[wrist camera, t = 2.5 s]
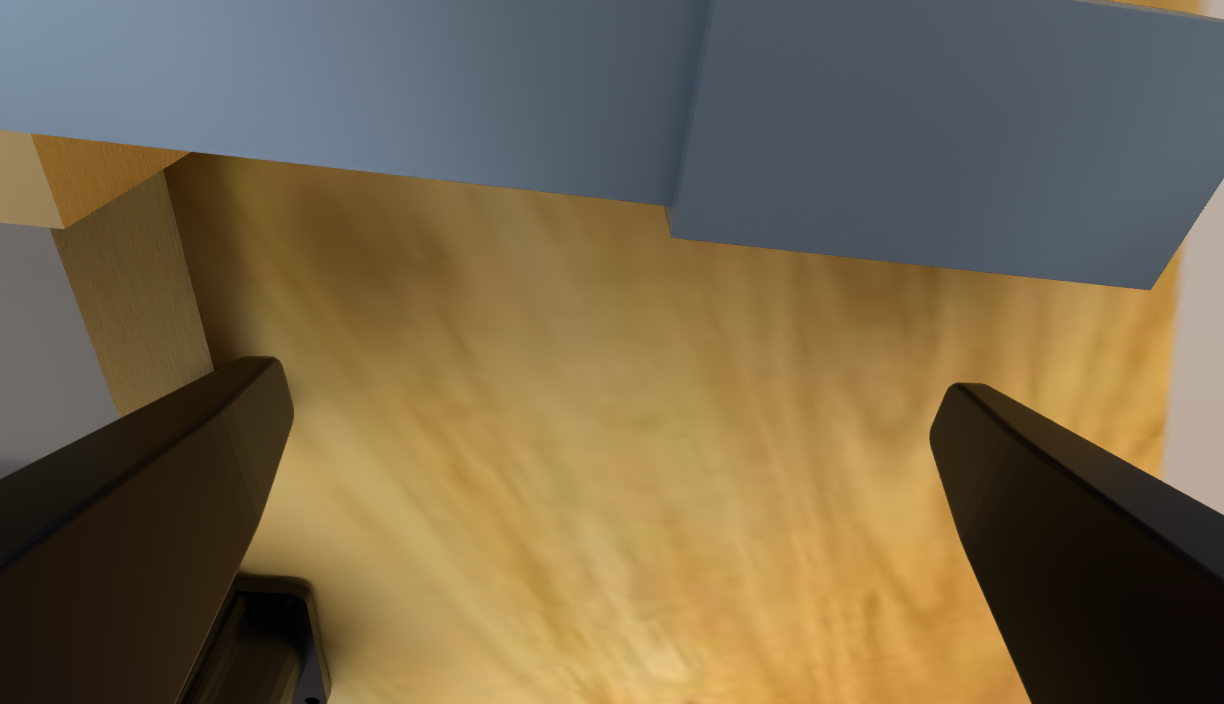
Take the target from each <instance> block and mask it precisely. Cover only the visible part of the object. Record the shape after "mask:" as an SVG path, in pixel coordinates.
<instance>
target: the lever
mask: <svg viewBox="0 0 1224 704" xmlns="http://www.w3.org/2000/svg"><path fill="white" fill-rule="evenodd" d="M0 130H6V131H15V132H24V133H32V134H41V135H50V136H59V137H67V138H76V139H85V140H94V141H103V142H111V143H120V144H129V145H138V146H146V147H155V148H164V149H173V150H182V151H190V152H199V153H208V154H217V155H225V156H234V157H243V158H252V159H261V160H269V161H278V162H287V163H296V164H304V165H313V166H322V167H331V168H340V169H348V170H357V171H366V172H375V173H383V174H392V175H401V176H410V177H419V178H427V179H436V180H445V181H454V182H462V183H471V184H480V185H489V186H498V187H506V188H515V189H524V190H533V191H541V192H550V193H559V194H568V195H577V196H585V197H594V198H603V199H612V200H620V201H629V202H638V203H647V204H656V205H664V207H665V212H666V216H667V221H668V225H669V230H670V234H671V238H678V239H688V240H697V241H706V242H715V243H724V244H733V245H742V246H751V247H760V248H770V249H779V250H788V251H797V252H806V253H815V254H824V255H833V256H842V257H851V258H861V259H870V260H879V261H888V262H897V263H906V264H915V265H924V266H933V267H943V268H952V269H961V270H970V271H979V272H988V273H997V274H1006V275H1015V276H1024V277H1034V278H1043V279H1052V280H1061V281H1070V282H1079V283H1088V284H1097V285H1106V286H1116V287H1125V288H1134V289H1143V290H1151V289H1152V287H1153V285H1154V284H1155V282H1156V281H1157V279H1158V278H1159V276H1160V275H1161V273H1162V272H1163V270H1164V269H1165V267H1166V266H1167V264H1168V262H1169V261H1170V259H1171V258H1172V256H1173V255H1174V253H1175V252H1176V250H1177V249H1178V247H1179V246H1180V244H1181V243H1182V241H1183V240H1184V238H1185V236H1186V235H1187V233H1188V232H1189V230H1190V229H1191V227H1192V226H1193V224H1194V223H1195V221H1196V219H1197V218H1198V217H1199V215H1200V213H1201V212H1202V210H1203V209H1204V207H1205V206H1206V204H1207V203H1208V201H1209V200H1210V198H1211V197H1212V195H1213V194H1214V192H1215V191H1216V189H1217V187H1218V186H1219V184H1220V183H1221V181H1222V180H1223V178H1224V20H1223V19H1217V18H1212V17H1207V16H1201V15H1196V14H1190V13H1185V12H1179V11H1173V10H1167V9H1160V8H1153V7H1146V6H1140V5H1133V4H1126V3H1120V2H1113V1H1106V0H0Z"/></svg>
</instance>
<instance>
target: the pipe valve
mask: <svg viewBox="0 0 1224 704" xmlns="http://www.w3.org/2000/svg"><path fill="white" fill-rule="evenodd" d="M189 153H190V151H182V150H173V149H164V148H155V147H146V146H138V145H129V144H120V143H111V142H103V141H94V140H85V139H76V138H67V137H59V136H50V135H41V134H32V133H24V132H15V131H6V130H0V479H1V478H3V477H5V476H7V475H8V474H10V473H12V472H14V471H16V470H18V469H20V468H22V467H24V466H26V465H28V464H30V463H32V462H34V461H36V460H38V459H40V458H42V457H44V456H46V455H48V454H50V453H52V452H54V451H56V450H58V449H60V448H62V447H64V446H66V445H68V444H70V443H72V442H74V441H76V440H78V439H80V438H82V437H84V436H86V435H88V434H90V433H92V432H94V431H96V430H98V429H100V428H102V427H104V426H106V425H108V424H110V423H112V422H114V421H116V420H117V419H119V418H121V417H123V416H125V415H127V414H129V413H131V412H133V411H135V410H137V409H139V408H141V407H143V406H145V405H147V404H149V403H151V402H153V401H155V400H157V399H159V398H161V397H163V396H165V395H167V394H169V393H171V392H173V391H175V390H177V389H179V388H181V387H183V386H185V385H187V384H189V383H191V382H193V381H195V380H197V379H199V378H201V377H203V376H205V375H207V374H209V373H211V372H213V371H215V370H217V369H213V365H212V361H211V357H210V353H209V349H208V345H207V341H206V337H205V333H204V329H203V325H202V321H201V317H200V313H199V309H198V305H197V302H196V298H195V294H194V290H193V286H192V282H191V278H190V274H189V270H188V266H187V262H186V258H185V254H184V250H183V246H182V242H181V238H180V234H179V231H178V227H177V223H176V219H175V215H174V211H173V207H172V203H171V199H170V195H169V191H168V187H167V183H166V179H165V175H164V171H163V169H164V168H166V167H167V166H169V165H171V164H172V163H174V162H176V161H177V160H179V159H181V158H182V157H184V156H186V155H187V154H189Z"/></svg>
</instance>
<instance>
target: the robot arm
mask: <svg viewBox="0 0 1224 704" xmlns="http://www.w3.org/2000/svg"><path fill="white" fill-rule="evenodd" d="M293 418H294V408H293V403H292V399H291V396H290V392H289V388H288V384H287V381H286V377H285V373H284V369H283V366H282V364H281V362H280V361H279V360H278V359H276V358H275V357H268V356H243V357H240V358H238V359H236V360H234V361H232V362H230V363H228V364H226V365H225V366H223V367H221V368H219V369H217V370H215V371H213V372H211V373H209V374H207V375H205V376H203V377H201V378H199V379H197V380H195V381H193V382H191V383H189V384H187V385H185V386H183V387H181V388H179V389H177V390H175V391H173V392H171V393H169V394H167V395H165V396H163V397H161V398H159V399H157V400H155V401H153V402H151V403H149V404H147V405H145V406H143V407H141V408H139V409H137V410H135V411H133V412H131V413H129V414H127V415H125V416H123V417H121V418H119V419H117V420H116V421H114V422H112V423H110V424H108V425H106V426H104V427H102V428H100V429H98V430H96V431H94V432H92V433H90V434H88V435H86V436H84V437H82V438H80V439H78V440H76V441H74V442H72V443H70V444H68V445H66V446H64V447H62V448H60V449H58V450H56V451H54V452H52V453H50V454H48V455H46V456H44V457H42V458H40V459H38V460H36V461H34V462H32V463H30V464H28V465H26V466H24V467H22V468H20V469H18V470H16V471H14V472H12V473H10V474H8V475H7V476H5V477H3V478H1V479H0V704H327V702H328V699H329V696H330V693H331V688H330V683H329V678H328V673H327V668H326V663H325V658H324V653H323V648H322V643H321V638H320V633H319V628H318V623H317V618H316V613H315V608H314V603H313V598H312V593H311V591H310V590H309V589H308V588H307V587H306V586H304V585H301V584H299V583H293V582H278V581H262V580H246V579H234V577H235V575H236V573H237V571H238V569H239V566H240V564H241V562H242V560H243V558H244V556H245V554H246V551H247V549H248V547H249V545H250V543H251V541H252V539H253V536H254V534H255V532H256V529H257V527H258V525H259V522H260V520H261V517H262V514H263V511H264V509H265V506H266V503H267V500H268V497H269V494H270V491H271V488H272V485H273V482H274V479H275V476H276V473H277V470H278V466H279V463H280V460H281V457H282V454H283V451H284V448H285V445H286V442H287V439H288V436H289V433H290V430H291V427H292V424H293ZM929 439H930V446H931V450H932V453H933V456H934V459H935V462H936V466H937V469H938V472H939V475H940V478H941V482H942V485H943V488H944V491H945V494H946V498H947V501H948V504H949V507H950V510H951V514H952V517H953V520H954V523H955V526H956V529H957V532H958V535H959V538H960V541H961V543H962V546H963V548H964V551H965V553H966V555H967V558H968V560H969V562H970V565H971V567H972V569H973V572H974V574H975V576H976V578H977V581H978V583H979V585H980V588H981V590H982V592H983V594H984V597H985V599H986V601H987V604H988V606H989V608H990V610H991V613H992V615H993V617H994V619H995V622H996V624H997V626H998V629H999V631H1000V633H1001V635H1002V638H1003V640H1004V642H1005V645H1006V647H1007V649H1008V651H1009V654H1010V656H1011V658H1012V661H1013V663H1014V665H1015V667H1016V670H1017V672H1018V674H1019V676H1020V679H1021V681H1022V683H1023V686H1024V688H1025V690H1026V692H1027V695H1028V697H1029V699H1030V702H1031V704H1224V515H1222V514H1221V513H1219V512H1217V511H1215V510H1213V509H1211V508H1210V507H1208V506H1206V505H1204V504H1202V503H1201V502H1199V501H1197V500H1195V499H1193V498H1192V497H1190V496H1188V495H1186V494H1184V493H1182V492H1180V491H1179V490H1177V489H1175V488H1173V487H1172V486H1170V485H1168V484H1166V483H1164V482H1162V481H1161V480H1159V479H1157V478H1155V477H1153V476H1152V475H1150V474H1148V473H1146V472H1144V471H1143V470H1141V469H1139V468H1137V467H1135V466H1133V465H1132V464H1130V463H1128V462H1126V461H1124V460H1123V459H1121V458H1119V457H1117V456H1115V455H1113V454H1112V453H1110V452H1108V451H1106V450H1104V449H1103V448H1101V447H1099V446H1097V445H1095V444H1093V443H1092V442H1090V441H1088V440H1086V439H1084V438H1083V437H1081V436H1079V435H1077V434H1075V433H1073V432H1072V431H1070V430H1068V429H1066V428H1064V427H1063V426H1061V425H1059V424H1057V423H1055V422H1053V421H1052V420H1050V419H1048V418H1046V417H1044V416H1043V415H1041V414H1039V413H1037V412H1035V411H1033V410H1032V409H1030V408H1028V407H1026V406H1024V405H1023V404H1021V403H1019V402H1017V401H1015V400H1013V399H1012V398H1010V397H1008V396H1006V395H1004V394H1003V393H1001V392H999V391H997V390H995V389H994V388H992V387H990V386H988V385H986V384H982V383H955V384H952V385H951V386H950V387H949V388H948V389H947V391H946V393H945V395H944V398H943V400H942V402H941V405H940V407H939V409H938V412H937V414H936V417H935V419H934V421H933V424H932V426H931V429H930V437H929Z"/></svg>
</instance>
